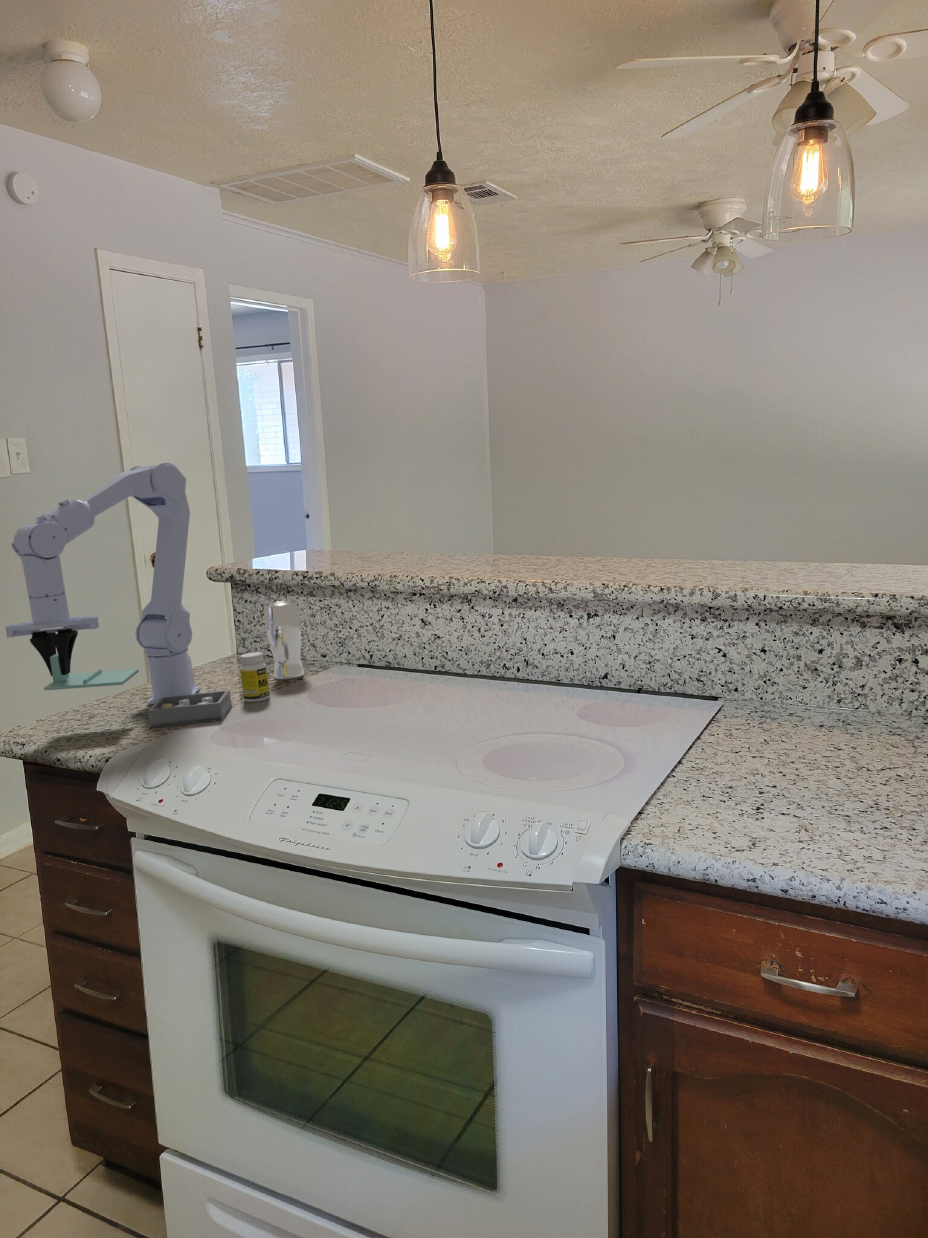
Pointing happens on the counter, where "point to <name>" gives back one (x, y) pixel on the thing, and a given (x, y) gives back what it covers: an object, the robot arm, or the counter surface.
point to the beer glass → (284, 638)
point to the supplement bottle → (254, 677)
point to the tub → (189, 709)
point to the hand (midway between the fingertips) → (60, 674)
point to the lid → (86, 677)
